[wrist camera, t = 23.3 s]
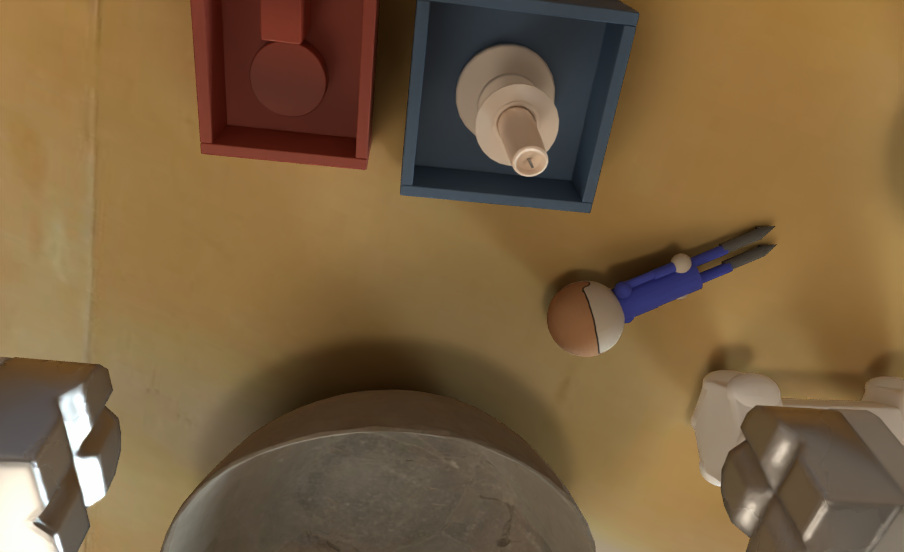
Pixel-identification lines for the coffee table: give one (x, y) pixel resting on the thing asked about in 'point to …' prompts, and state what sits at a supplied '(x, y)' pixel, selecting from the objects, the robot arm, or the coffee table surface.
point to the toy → (637, 296)
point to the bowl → (381, 484)
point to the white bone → (740, 392)
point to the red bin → (254, 126)
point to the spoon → (288, 60)
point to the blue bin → (576, 99)
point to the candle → (509, 106)
